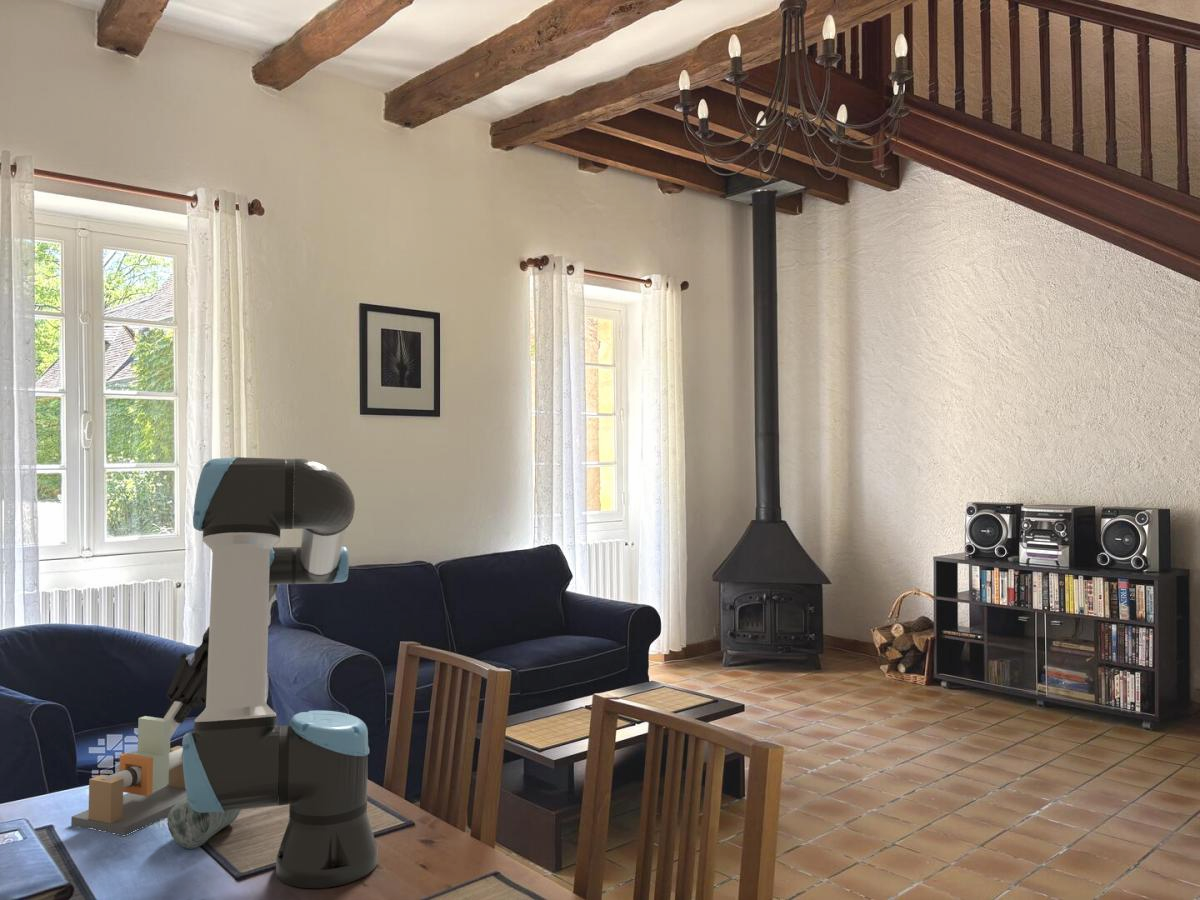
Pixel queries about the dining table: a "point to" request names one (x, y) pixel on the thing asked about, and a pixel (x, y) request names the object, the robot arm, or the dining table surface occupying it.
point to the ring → (147, 773)
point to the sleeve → (155, 746)
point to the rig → (131, 799)
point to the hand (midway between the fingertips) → (161, 736)
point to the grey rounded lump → (196, 824)
